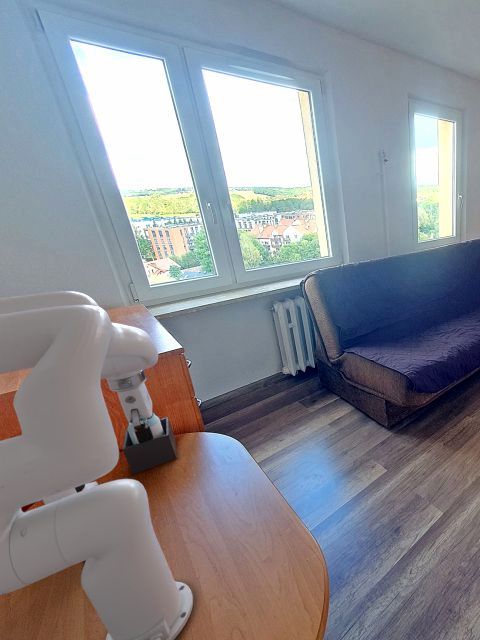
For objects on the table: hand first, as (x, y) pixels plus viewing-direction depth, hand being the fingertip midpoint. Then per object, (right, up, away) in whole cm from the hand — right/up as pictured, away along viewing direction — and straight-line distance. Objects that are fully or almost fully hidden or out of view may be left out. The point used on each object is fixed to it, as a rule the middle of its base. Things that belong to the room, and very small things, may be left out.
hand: (146, 432), depth 95 cm
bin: (0, -8, +3) cm, 9 cm away
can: (0, -7, +3) cm, 7 cm away
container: (-2, -16, -16) cm, 23 cm away
